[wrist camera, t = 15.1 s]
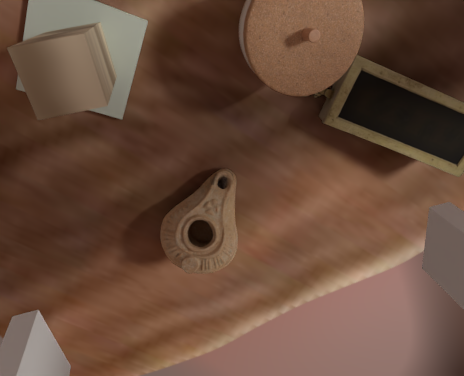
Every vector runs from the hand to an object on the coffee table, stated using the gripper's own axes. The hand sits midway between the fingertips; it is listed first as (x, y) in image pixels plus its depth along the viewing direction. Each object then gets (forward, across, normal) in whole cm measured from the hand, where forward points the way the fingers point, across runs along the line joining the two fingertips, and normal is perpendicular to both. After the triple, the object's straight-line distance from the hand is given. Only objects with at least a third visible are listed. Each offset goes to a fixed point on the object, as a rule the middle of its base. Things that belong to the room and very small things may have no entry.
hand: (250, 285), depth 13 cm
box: (+31, +23, -7) cm, 40 cm away
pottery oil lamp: (+31, 0, -15) cm, 34 cm away
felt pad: (+31, -8, +5) cm, 32 cm away
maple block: (+30, -8, +5) cm, 32 cm away
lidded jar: (+31, +11, +4) cm, 33 cm away
